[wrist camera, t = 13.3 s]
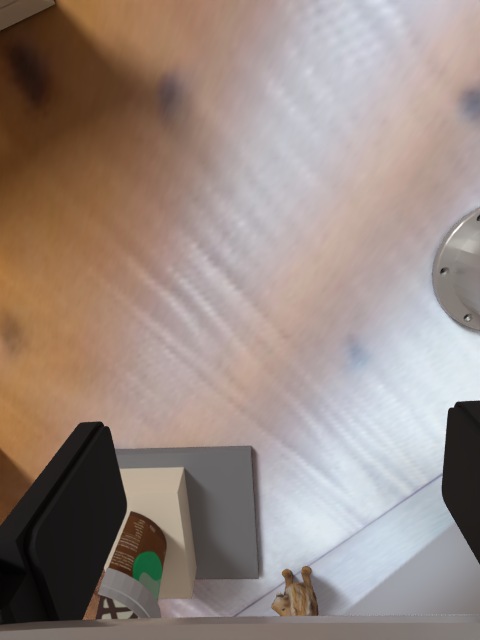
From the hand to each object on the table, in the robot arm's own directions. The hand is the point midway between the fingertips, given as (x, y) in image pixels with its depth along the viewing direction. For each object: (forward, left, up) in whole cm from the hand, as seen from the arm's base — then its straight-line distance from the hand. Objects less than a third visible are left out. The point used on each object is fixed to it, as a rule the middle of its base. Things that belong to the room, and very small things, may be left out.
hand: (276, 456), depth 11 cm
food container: (+14, +32, -25) cm, 43 cm away
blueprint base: (+12, +32, -30) cm, 45 cm away
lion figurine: (-2, +44, -30) cm, 54 cm away
